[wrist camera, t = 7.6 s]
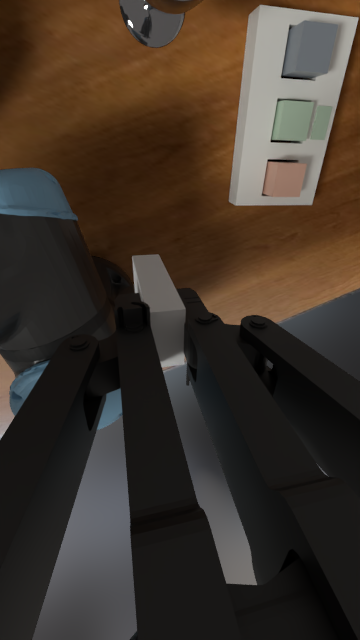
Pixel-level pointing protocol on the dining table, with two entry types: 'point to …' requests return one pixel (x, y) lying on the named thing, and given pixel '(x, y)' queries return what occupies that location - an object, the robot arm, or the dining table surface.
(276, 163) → the salmon pink button
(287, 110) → the sage button
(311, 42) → the slate grey button
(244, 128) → the button board
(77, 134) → the dining table surface
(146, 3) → the silver goblet
